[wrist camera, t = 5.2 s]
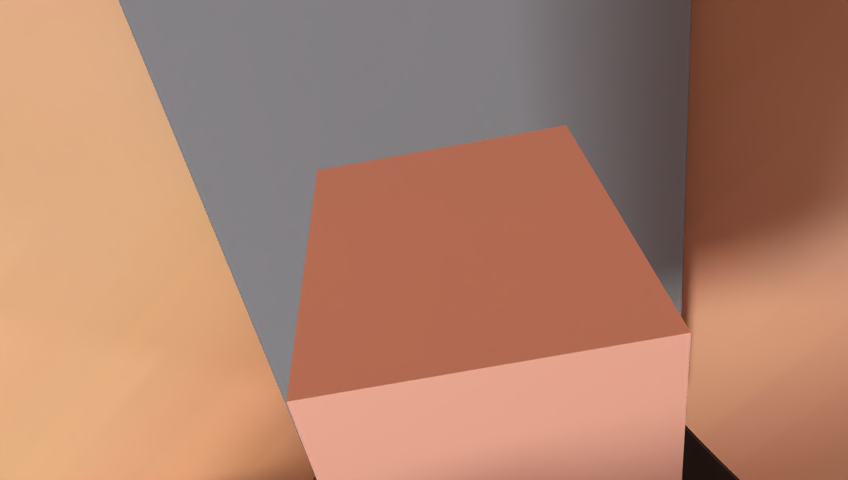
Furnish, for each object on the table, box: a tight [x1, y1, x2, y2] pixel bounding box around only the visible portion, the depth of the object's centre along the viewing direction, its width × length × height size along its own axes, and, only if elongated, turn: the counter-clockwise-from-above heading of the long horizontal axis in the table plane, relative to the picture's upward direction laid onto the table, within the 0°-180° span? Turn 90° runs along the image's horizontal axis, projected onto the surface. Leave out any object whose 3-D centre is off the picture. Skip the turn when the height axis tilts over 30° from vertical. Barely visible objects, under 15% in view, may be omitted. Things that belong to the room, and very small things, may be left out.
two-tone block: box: [286, 125, 691, 480], centre depth 12 cm, size 4×10×5 cm, turn 10°
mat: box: [119, 0, 692, 452], centre depth 19 cm, size 18×13×1 cm
